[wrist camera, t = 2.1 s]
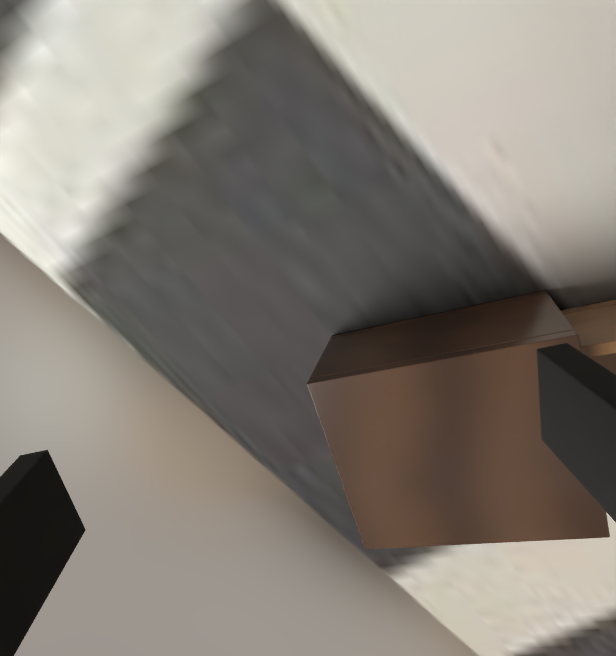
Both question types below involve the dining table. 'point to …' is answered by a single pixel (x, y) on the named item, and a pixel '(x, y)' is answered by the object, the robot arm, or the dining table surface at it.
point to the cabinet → (451, 429)
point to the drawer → (596, 331)
